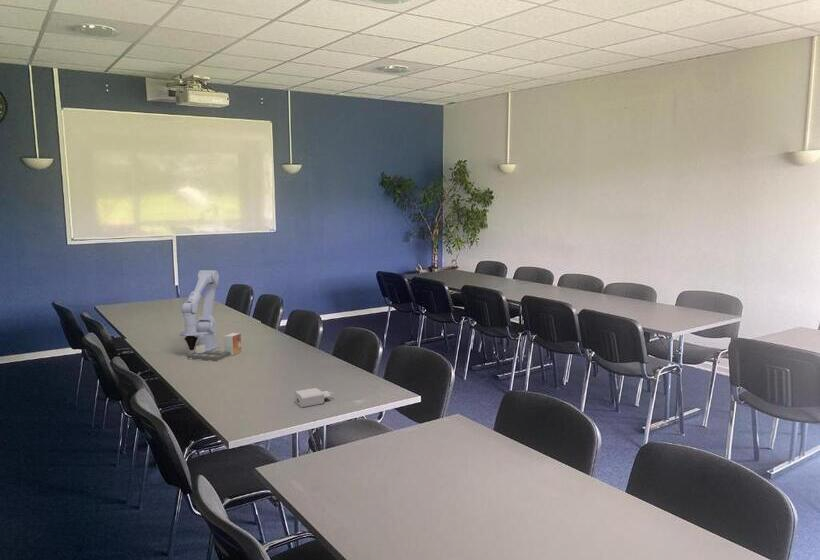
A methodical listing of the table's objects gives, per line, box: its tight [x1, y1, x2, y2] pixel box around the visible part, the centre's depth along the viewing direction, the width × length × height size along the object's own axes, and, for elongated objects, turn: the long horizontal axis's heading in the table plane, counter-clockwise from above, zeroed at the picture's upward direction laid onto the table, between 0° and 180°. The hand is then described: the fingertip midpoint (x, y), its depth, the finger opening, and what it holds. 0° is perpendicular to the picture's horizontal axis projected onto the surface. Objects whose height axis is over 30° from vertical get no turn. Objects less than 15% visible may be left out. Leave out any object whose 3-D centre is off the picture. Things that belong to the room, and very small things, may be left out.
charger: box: [294, 387, 335, 408], centre depth 244 cm, size 5×9×15 cm
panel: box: [186, 349, 231, 362], centre depth 316 cm, size 12×18×2 cm, turn 73°
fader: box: [195, 344, 206, 353], centre depth 317 cm, size 4×3×4 cm
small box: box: [223, 332, 242, 356], centre depth 323 cm, size 8×6×10 cm
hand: (191, 349), depth 319 cm, fingers closed
